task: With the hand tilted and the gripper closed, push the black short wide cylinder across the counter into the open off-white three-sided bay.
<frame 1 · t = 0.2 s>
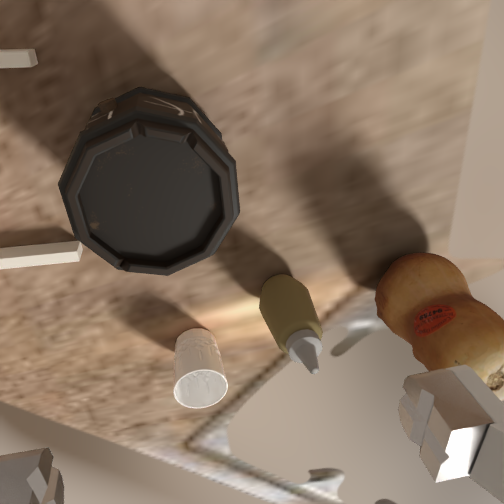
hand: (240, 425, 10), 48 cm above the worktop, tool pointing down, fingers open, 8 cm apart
squeeze bottle: (278, 288, 68), on the worktop
butternut squash: (399, 273, 72), on the worktop
white cup: (195, 342, 71), on the worktop
black short wide cylinder: (153, 154, 54), on the worktop
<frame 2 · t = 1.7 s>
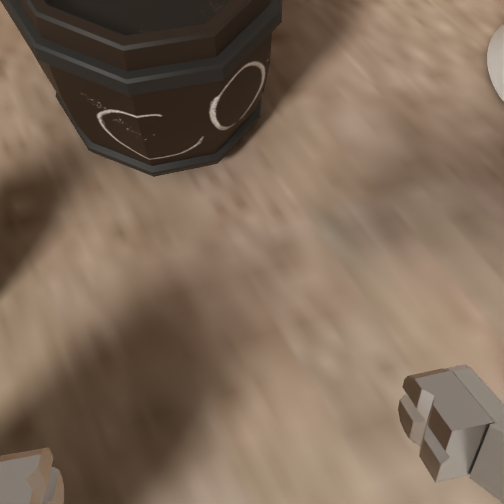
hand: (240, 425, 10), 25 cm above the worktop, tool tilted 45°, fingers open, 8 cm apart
black short wide cylinder: (170, 94, 39), on the worktop
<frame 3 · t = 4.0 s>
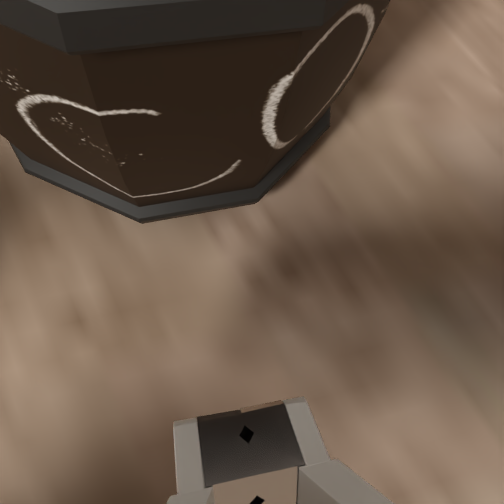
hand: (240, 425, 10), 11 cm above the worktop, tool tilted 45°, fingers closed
black short wide cylinder: (176, 84, 24), on the worktop
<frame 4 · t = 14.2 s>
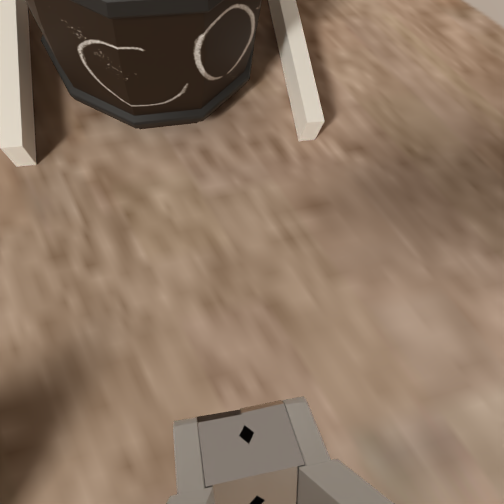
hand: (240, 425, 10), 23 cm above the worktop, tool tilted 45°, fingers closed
bay: (158, 40, 39), on the worktop
black short wide cylinder: (160, 53, 39), on the worktop
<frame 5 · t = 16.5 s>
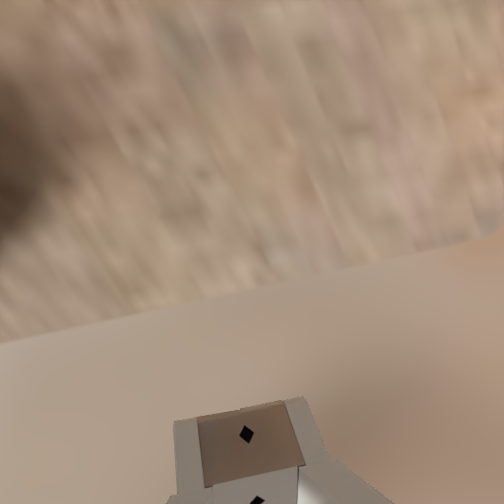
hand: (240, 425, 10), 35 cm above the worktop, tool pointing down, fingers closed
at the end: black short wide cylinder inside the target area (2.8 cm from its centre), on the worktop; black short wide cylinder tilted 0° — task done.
